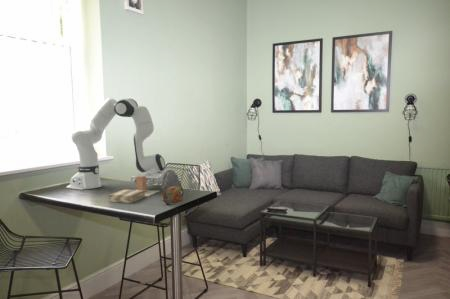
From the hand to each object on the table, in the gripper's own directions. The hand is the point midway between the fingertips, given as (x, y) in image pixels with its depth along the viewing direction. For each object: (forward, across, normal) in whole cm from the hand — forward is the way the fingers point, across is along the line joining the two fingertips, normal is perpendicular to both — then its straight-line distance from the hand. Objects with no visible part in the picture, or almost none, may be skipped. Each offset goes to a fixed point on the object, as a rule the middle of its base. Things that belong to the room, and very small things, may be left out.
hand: (140, 181), depth 221 cm
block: (-1, 0, +7) cm, 7 cm away
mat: (-1, 0, +7) cm, 7 cm away
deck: (+15, 0, +7) cm, 17 cm away
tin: (+15, +28, +8) cm, 33 cm away
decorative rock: (-1, +20, +8) cm, 21 cm away
